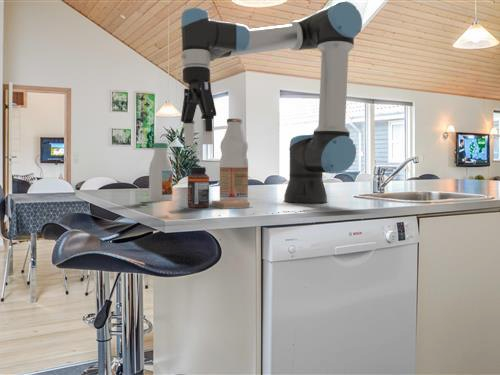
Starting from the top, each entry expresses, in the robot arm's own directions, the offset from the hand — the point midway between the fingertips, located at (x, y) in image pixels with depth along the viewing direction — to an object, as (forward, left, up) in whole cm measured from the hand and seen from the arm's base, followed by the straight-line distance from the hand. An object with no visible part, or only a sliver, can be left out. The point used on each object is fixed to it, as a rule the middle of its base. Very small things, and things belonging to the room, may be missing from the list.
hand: (198, 145), depth 124 cm
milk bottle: (+2, -29, -19) cm, 34 cm away
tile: (-9, -2, -17) cm, 19 cm away
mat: (-5, +1, -18) cm, 19 cm away
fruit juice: (-19, -16, -19) cm, 31 cm away
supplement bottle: (0, +1, -18) cm, 18 cm away
